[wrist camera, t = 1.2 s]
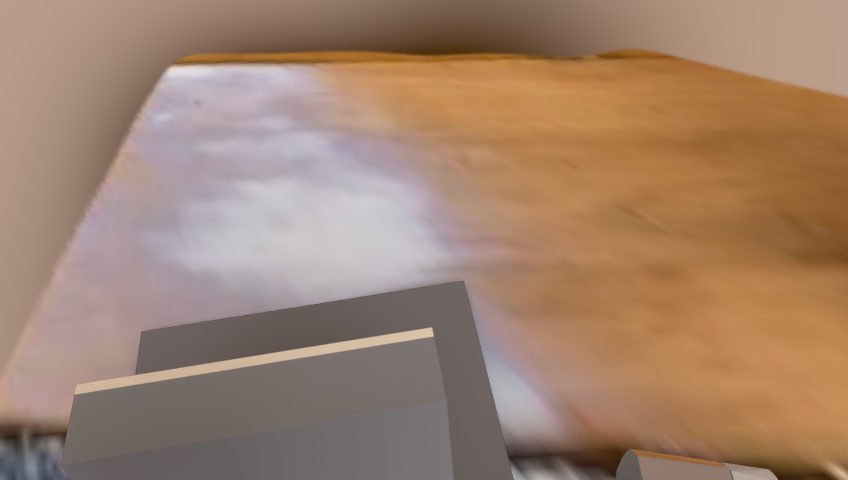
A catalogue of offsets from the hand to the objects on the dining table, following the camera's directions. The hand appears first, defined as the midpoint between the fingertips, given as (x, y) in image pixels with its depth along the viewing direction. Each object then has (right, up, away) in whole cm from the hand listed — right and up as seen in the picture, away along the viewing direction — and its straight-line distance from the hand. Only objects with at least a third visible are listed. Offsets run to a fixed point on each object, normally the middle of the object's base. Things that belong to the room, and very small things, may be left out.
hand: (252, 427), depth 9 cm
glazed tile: (-3, -11, +25) cm, 28 cm away
